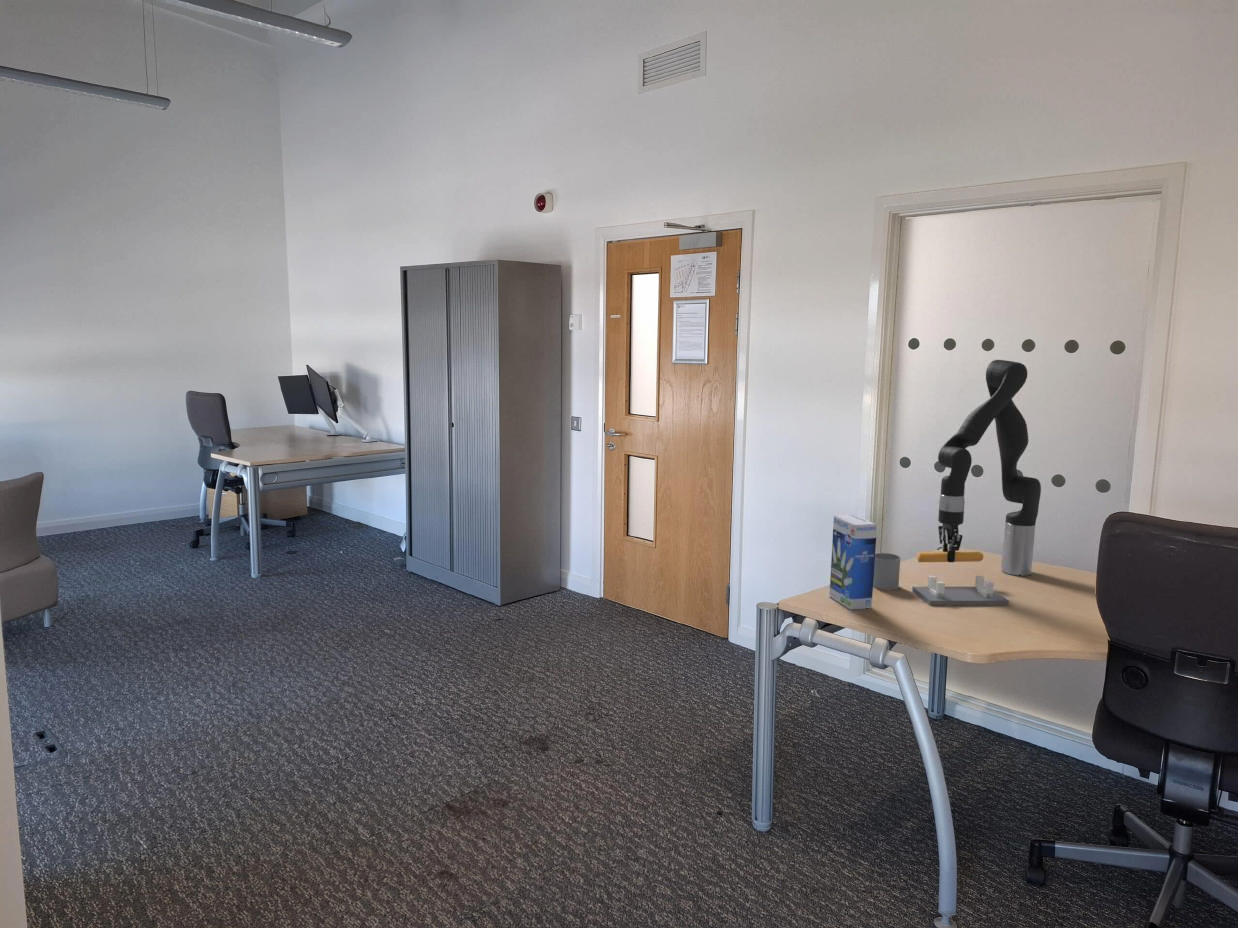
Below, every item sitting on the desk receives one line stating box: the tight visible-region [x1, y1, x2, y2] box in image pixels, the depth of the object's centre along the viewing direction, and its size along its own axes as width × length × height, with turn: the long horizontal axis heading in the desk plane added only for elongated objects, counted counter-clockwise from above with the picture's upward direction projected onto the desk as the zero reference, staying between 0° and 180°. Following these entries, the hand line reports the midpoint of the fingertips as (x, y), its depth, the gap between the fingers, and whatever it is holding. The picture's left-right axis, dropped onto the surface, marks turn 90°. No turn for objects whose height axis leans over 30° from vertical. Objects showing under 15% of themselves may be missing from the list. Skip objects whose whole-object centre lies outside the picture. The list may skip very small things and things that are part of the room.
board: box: [911, 575, 1010, 607], centre depth 256 cm, size 14×24×6 cm, turn 92°
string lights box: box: [829, 514, 878, 611], centre depth 249 cm, size 13×8×26 cm, turn 14°
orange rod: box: [916, 551, 984, 563], centre depth 269 cm, size 21×3×3 cm, turn 91°
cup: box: [873, 552, 901, 592], centre depth 267 cm, size 8×8×10 cm
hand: (948, 560), depth 269 cm, fingers closed on orange rod, 3 cm apart
